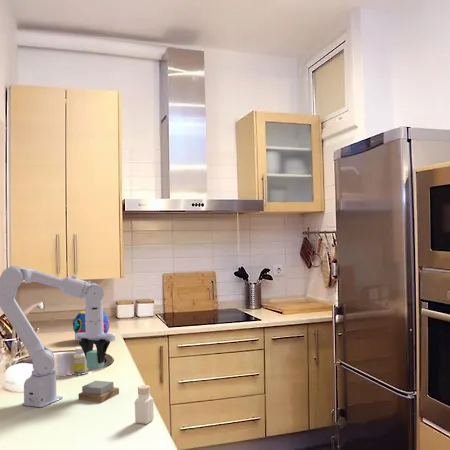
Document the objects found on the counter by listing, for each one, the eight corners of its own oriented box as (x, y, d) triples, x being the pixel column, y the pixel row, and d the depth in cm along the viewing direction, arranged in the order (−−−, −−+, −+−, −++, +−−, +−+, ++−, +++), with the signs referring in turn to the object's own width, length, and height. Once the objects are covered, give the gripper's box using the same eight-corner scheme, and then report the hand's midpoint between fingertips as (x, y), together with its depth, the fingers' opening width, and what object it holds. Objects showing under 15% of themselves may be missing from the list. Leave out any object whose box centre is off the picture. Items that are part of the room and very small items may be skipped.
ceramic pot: (72, 339, 251) (72, 310, 251) (107, 336, 257) (107, 307, 257) (74, 346, 234) (73, 315, 235) (111, 342, 240) (111, 312, 241)
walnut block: (102, 404, 151) (102, 396, 151) (78, 401, 154) (78, 393, 154) (119, 395, 159) (118, 387, 159) (96, 393, 162) (96, 385, 162)
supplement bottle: (83, 370, 189) (82, 345, 189) (91, 372, 186) (91, 347, 186) (71, 374, 185) (70, 348, 185) (79, 376, 181) (78, 349, 182)
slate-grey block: (100, 394, 152) (100, 388, 152) (82, 393, 155) (82, 386, 155) (113, 388, 159) (113, 382, 159) (95, 386, 161) (95, 380, 161)
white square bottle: (134, 423, 132) (133, 388, 133) (142, 418, 136) (141, 383, 136) (147, 425, 131) (146, 389, 131) (154, 419, 135) (153, 385, 135)
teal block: (96, 368, 157) (96, 353, 157) (86, 368, 158) (86, 352, 158) (104, 365, 160) (104, 350, 161) (94, 364, 162) (94, 349, 162)
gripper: (119, 319, 161) (121, 360, 160) (84, 317, 166) (85, 357, 166) (107, 322, 154) (108, 366, 154) (70, 321, 160) (71, 362, 159)
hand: (95, 362), depth 159 cm, fingers closed on teal block, 4 cm apart
